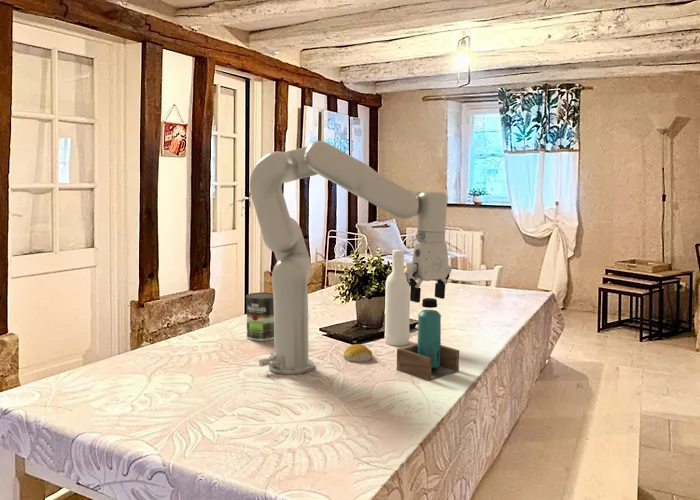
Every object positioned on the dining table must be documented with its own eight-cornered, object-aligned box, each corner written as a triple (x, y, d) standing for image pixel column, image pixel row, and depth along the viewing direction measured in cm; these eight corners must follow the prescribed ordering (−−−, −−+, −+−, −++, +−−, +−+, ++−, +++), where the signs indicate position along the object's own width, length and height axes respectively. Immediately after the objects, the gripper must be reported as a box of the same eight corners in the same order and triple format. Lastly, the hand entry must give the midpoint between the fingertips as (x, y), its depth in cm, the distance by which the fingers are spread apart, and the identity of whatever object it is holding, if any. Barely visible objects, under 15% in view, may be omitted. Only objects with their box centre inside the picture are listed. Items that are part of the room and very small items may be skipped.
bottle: (380, 343, 201) (381, 250, 197) (390, 338, 207) (391, 248, 204) (403, 347, 197) (405, 252, 193) (413, 341, 204) (414, 249, 200)
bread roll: (366, 353, 191) (367, 340, 191) (374, 361, 183) (375, 348, 182) (340, 354, 189) (340, 341, 189) (347, 363, 181) (347, 350, 180)
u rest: (427, 380, 166) (428, 358, 165) (396, 369, 175) (397, 348, 174) (458, 371, 174) (459, 350, 173) (427, 361, 183) (427, 341, 182)
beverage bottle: (439, 374, 170) (441, 301, 168) (415, 372, 172) (416, 300, 169) (441, 366, 177) (443, 297, 174) (417, 365, 178) (419, 295, 176)
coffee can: (269, 342, 202) (269, 299, 200) (241, 339, 205) (240, 297, 203) (283, 334, 211) (282, 293, 210) (255, 331, 215) (255, 291, 213)
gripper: (418, 240, 161) (415, 305, 163) (462, 237, 172) (458, 299, 174) (398, 237, 167) (395, 300, 169) (442, 234, 178) (438, 294, 180)
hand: (427, 299), depth 172 cm, fingers open, 9 cm apart
